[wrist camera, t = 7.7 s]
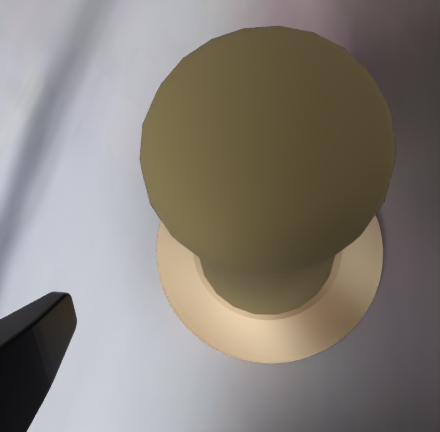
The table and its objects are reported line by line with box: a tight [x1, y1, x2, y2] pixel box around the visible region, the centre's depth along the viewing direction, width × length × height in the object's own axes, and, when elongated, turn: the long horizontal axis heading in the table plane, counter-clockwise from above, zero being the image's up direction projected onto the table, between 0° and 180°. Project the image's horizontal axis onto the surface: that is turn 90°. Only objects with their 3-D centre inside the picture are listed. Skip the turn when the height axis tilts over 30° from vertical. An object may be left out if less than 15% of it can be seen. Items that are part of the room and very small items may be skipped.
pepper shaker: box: [140, 26, 396, 315], centre depth 12 cm, size 6×6×11 cm
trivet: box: [156, 215, 383, 363], centre depth 17 cm, size 10×10×1 cm
